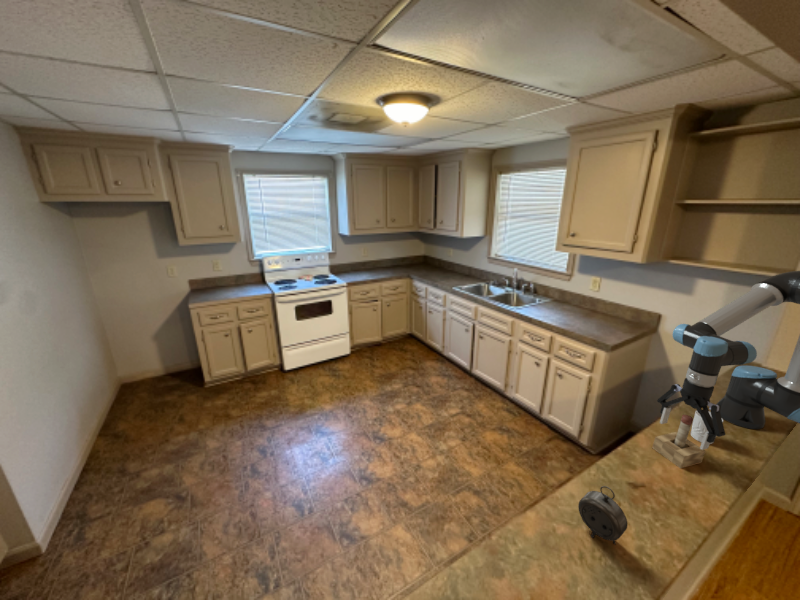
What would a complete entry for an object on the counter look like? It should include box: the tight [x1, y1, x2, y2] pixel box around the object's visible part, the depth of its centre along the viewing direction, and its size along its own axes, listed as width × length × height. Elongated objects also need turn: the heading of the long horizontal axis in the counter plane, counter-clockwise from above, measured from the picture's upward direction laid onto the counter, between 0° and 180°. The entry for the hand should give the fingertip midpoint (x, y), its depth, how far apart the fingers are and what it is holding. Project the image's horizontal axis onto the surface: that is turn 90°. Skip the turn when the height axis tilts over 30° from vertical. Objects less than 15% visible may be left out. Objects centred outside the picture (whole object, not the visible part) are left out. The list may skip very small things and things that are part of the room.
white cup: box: [690, 410, 724, 445], centre depth 127 cm, size 8×8×10 cm
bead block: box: [652, 431, 706, 469], centre depth 119 cm, size 10×10×5 cm
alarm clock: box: [577, 485, 628, 546], centre depth 89 cm, size 11×5×16 cm, turn 35°
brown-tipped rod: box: [674, 414, 694, 449], centre depth 117 cm, size 3×3×16 cm
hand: (682, 434), depth 117 cm, fingers open, 13 cm apart
